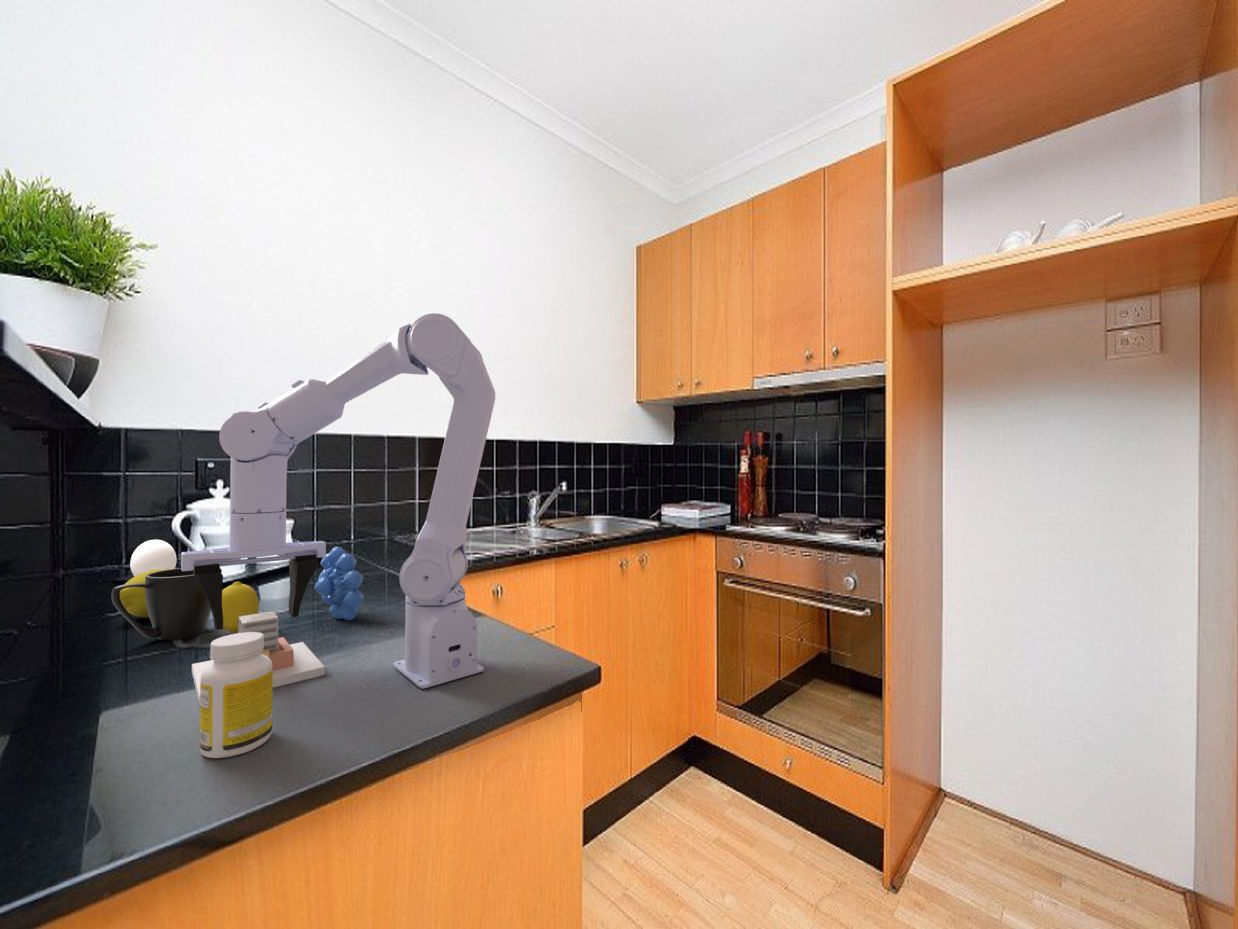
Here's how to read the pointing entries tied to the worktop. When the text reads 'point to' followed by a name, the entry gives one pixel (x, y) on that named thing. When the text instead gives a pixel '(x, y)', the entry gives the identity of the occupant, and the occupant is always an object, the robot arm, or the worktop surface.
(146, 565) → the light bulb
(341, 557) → the grapes
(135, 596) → the lemon
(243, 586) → the lemon
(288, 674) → the stand base
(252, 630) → the column
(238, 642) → the supplement bottle
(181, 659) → the worktop surface
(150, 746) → the worktop surface
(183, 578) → the mug
